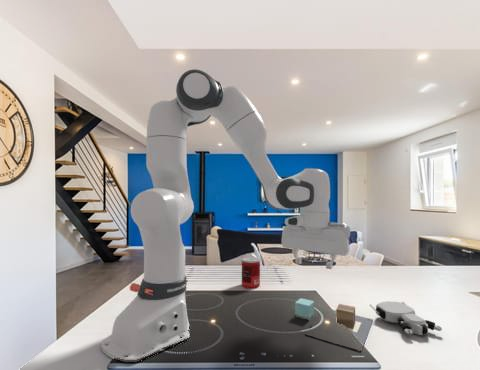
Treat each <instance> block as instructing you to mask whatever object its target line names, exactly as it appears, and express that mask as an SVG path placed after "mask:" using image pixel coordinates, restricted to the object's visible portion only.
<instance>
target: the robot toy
mask: <svg viewBox="0 0 480 370" xmlns="http://www.w3.org/2000/svg"><path fill="white" fill-rule="evenodd" d="M369 306H370V307H371V308H372V309H373V310H374V311H375V313H376V315H377V316H379V318H380V317H381V319H383V321H385V322H388V323H393V324H399V325H400V328H401V330H402V332H403V333H405V334H408V335H409V334H410V335H419V336H423V335H428V334H429V330H431V331H434V330H435V331H438V332H441V331H442V330H443V328H442V326H440V325H436V323H435V322H433V321H431V320H427V319H426V320H425V319H424V318H423V317H421V316H418V315H417V314H416V311H415V309H414V308H413V307H411V306H409V305H407V304H406V303H405V301H401V302H399V301H383V302H382V301H381V302H378V303H377V304H376V305H375V307H374V306H373V305H372V304H371V303H370V304H369Z"/></svg>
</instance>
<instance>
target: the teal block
mask: <svg viewBox="0 0 480 370" xmlns="http://www.w3.org/2000/svg"><path fill="white" fill-rule="evenodd" d="M294 309H295V310H294V313H295V314H297V315H300V316H305V317H309V318H310V317H311V316H312V315H313V314H314V315H315V300H309V299H306V298H302V297H301V298H299V299H298V300H297V301H295V302H294ZM295 314H294V315H295Z"/></svg>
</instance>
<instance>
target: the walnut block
mask: <svg viewBox="0 0 480 370" xmlns="http://www.w3.org/2000/svg"><path fill="white" fill-rule="evenodd" d="M335 310H336V323H339V324H343V325H345V326H346V327H347V328H351V329H354V326H355V315H356V307H355V306H352V305H346V304H342V303H338V305H337V307H336V309H335Z"/></svg>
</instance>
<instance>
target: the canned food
mask: <svg viewBox="0 0 480 370" xmlns="http://www.w3.org/2000/svg"><path fill="white" fill-rule="evenodd" d="M260 283H261V259H260V258H259V257H255V256H253V257H252V256H249V257H248V256H247V257H243V258H242V259H241V285H242V287H243V288H245V289H249V288H250V289H252V288H253V289H257V288H259V287H260ZM250 289H249V290H250Z"/></svg>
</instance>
